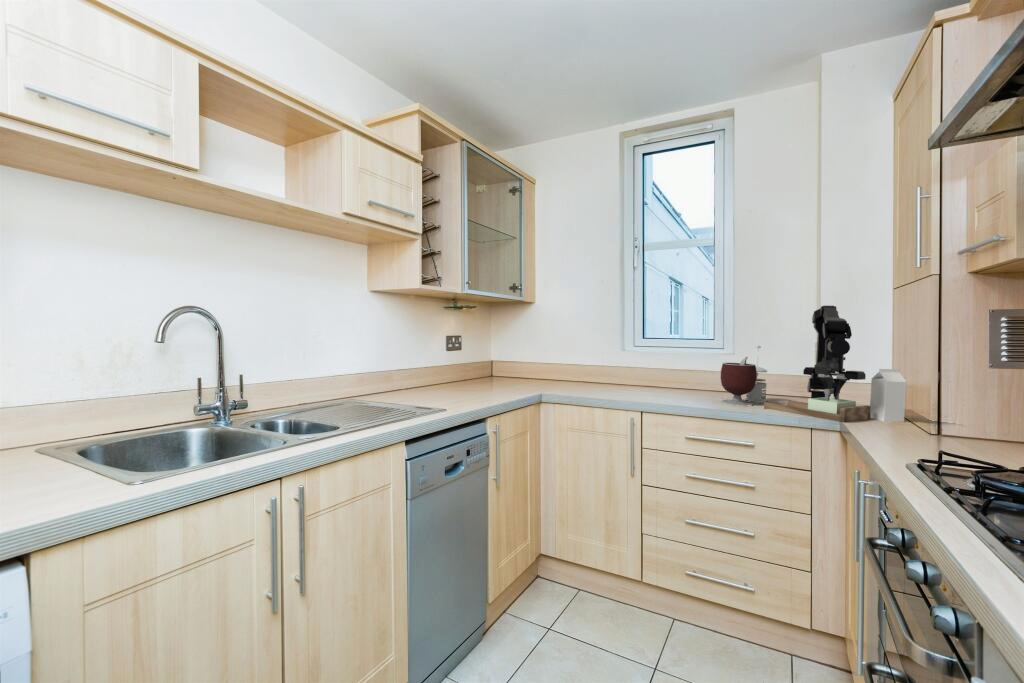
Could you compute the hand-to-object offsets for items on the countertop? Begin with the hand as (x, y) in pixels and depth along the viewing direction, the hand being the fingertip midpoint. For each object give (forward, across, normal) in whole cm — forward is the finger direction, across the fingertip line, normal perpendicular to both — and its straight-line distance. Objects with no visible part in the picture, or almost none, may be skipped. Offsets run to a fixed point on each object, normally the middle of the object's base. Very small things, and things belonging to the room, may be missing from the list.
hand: (832, 396), depth 174 cm
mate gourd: (+8, -36, -4) cm, 37 cm away
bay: (+8, -6, 0) cm, 10 cm away
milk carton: (+8, +11, +14) cm, 20 cm away
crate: (+7, 0, 0) cm, 7 cm away
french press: (+8, -39, +12) cm, 41 cm away
